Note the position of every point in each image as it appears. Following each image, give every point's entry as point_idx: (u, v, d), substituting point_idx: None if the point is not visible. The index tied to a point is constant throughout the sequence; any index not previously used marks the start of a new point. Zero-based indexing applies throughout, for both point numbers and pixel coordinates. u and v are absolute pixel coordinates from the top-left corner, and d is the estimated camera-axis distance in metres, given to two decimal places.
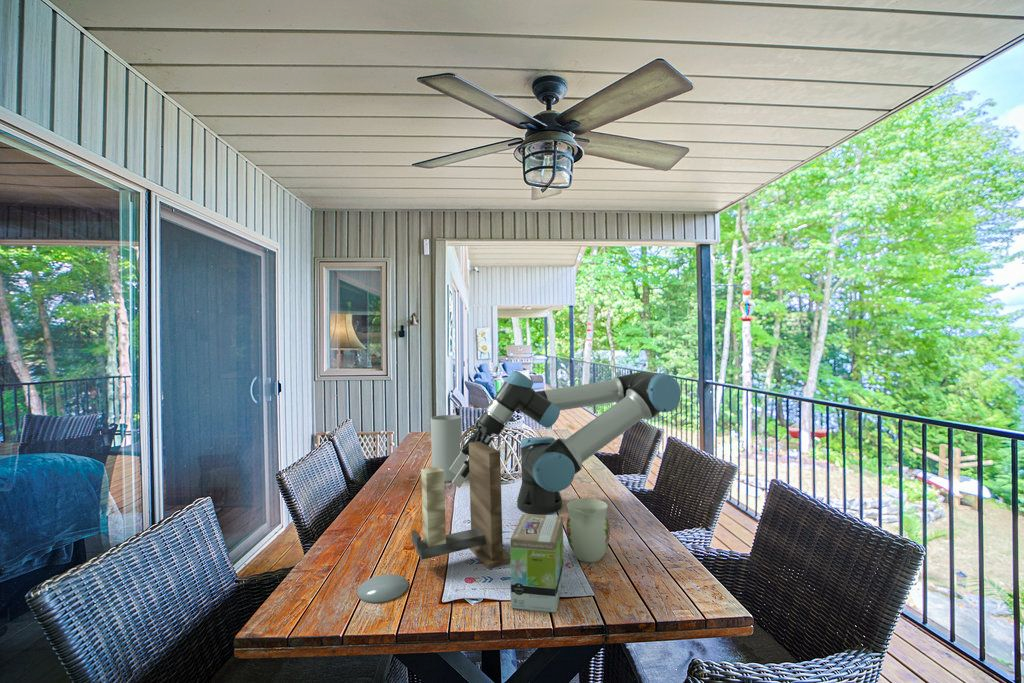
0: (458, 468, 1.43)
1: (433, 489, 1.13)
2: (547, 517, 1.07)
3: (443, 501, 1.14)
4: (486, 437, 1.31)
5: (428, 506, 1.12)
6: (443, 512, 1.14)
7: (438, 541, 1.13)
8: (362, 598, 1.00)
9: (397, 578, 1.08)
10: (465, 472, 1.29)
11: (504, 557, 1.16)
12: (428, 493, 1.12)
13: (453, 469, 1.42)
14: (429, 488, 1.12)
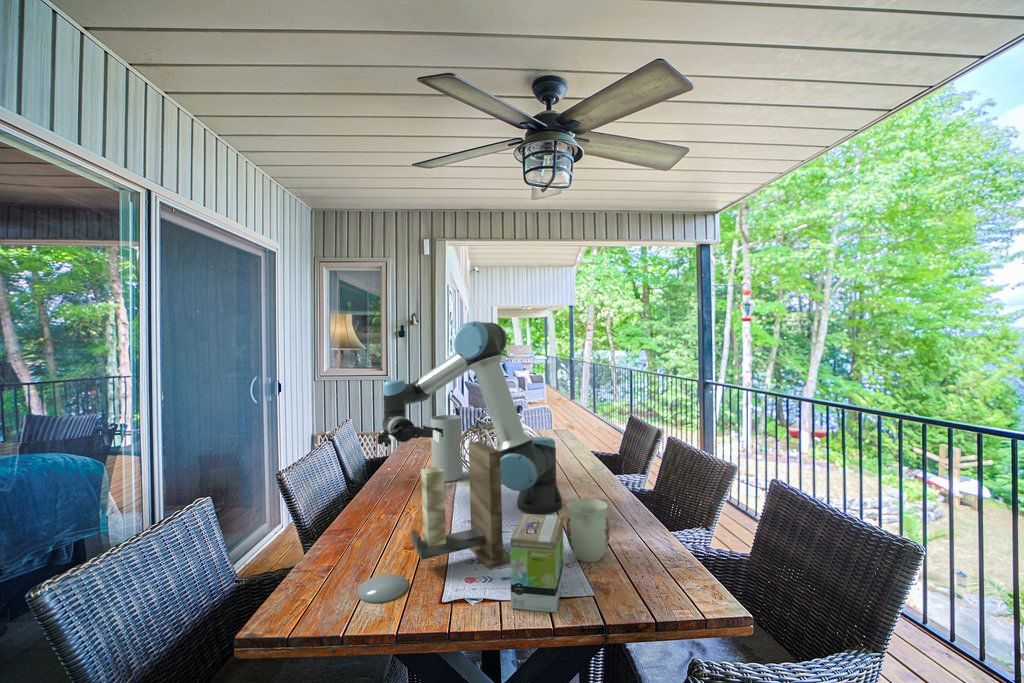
0: (437, 434, 1.40)
1: (433, 489, 1.13)
2: (547, 517, 1.07)
3: (443, 501, 1.14)
4: None
5: (428, 506, 1.12)
6: (443, 512, 1.14)
7: (438, 541, 1.13)
8: (362, 598, 1.00)
9: (397, 578, 1.08)
10: (386, 441, 1.36)
11: (504, 557, 1.16)
12: (428, 493, 1.12)
13: (438, 438, 1.39)
14: (429, 488, 1.12)
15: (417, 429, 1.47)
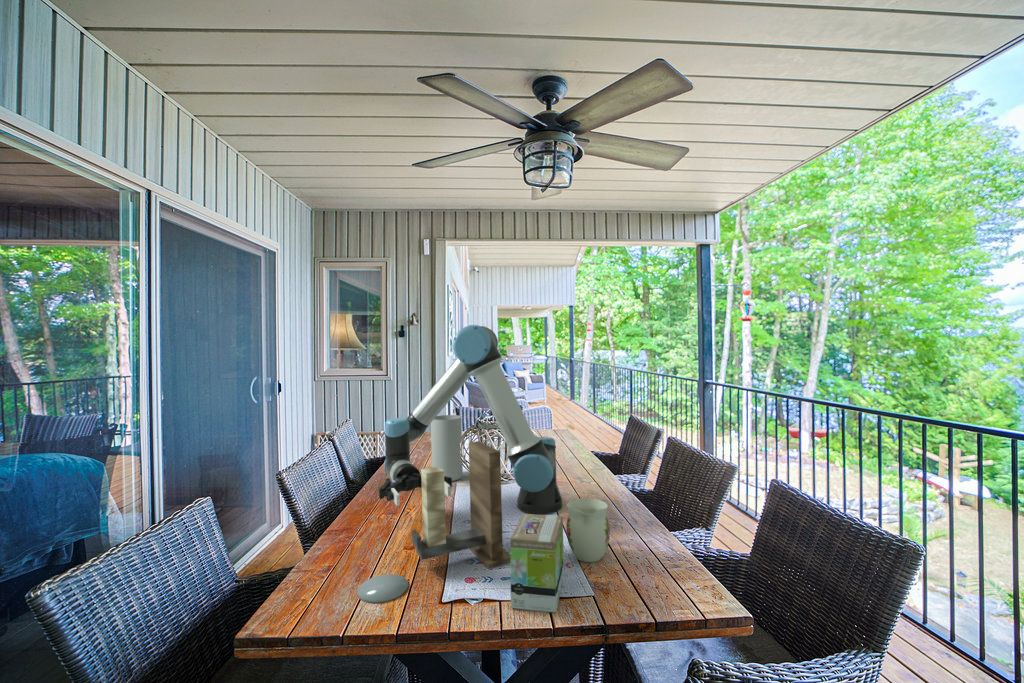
0: (445, 486, 1.25)
1: (433, 489, 1.13)
2: (547, 517, 1.07)
3: (443, 501, 1.14)
4: None
5: (428, 506, 1.12)
6: (443, 512, 1.14)
7: (438, 541, 1.13)
8: (362, 598, 1.00)
9: (397, 578, 1.08)
10: (388, 496, 1.21)
11: (504, 557, 1.16)
12: (428, 493, 1.12)
13: (447, 491, 1.24)
14: (429, 488, 1.12)
15: None
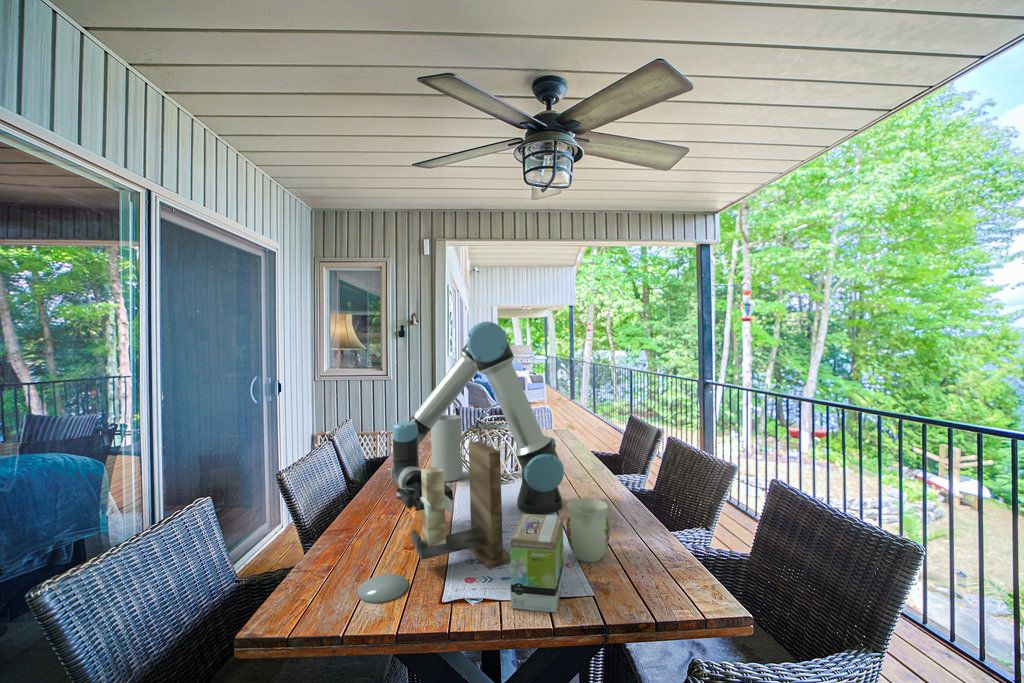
0: (446, 501, 1.13)
1: (433, 489, 1.13)
2: (547, 517, 1.07)
3: (443, 501, 1.14)
4: (397, 496, 1.22)
5: None
6: (443, 512, 1.14)
7: (438, 541, 1.13)
8: (362, 598, 1.00)
9: (397, 578, 1.08)
10: (417, 506, 1.13)
11: (504, 557, 1.16)
12: (428, 493, 1.12)
13: (447, 507, 1.12)
14: (429, 488, 1.12)
15: None
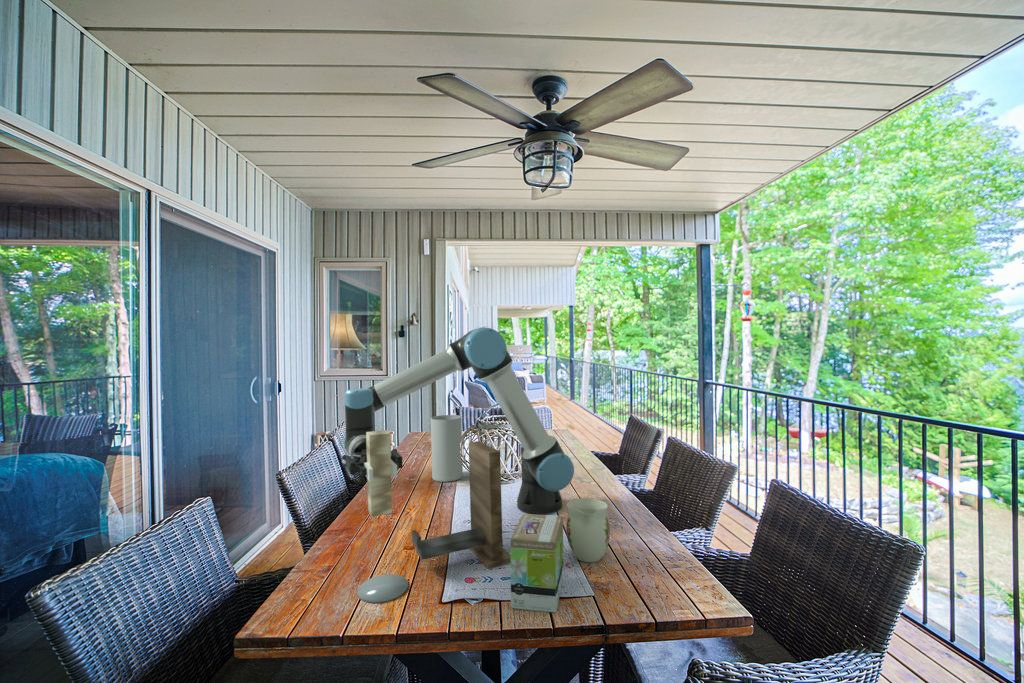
0: (391, 466, 1.03)
1: (377, 452, 1.03)
2: (547, 517, 1.07)
3: (389, 466, 1.04)
4: (342, 463, 1.11)
5: None
6: (389, 479, 1.04)
7: (383, 510, 1.03)
8: (362, 598, 1.00)
9: (397, 578, 1.08)
10: (360, 471, 1.02)
11: (504, 557, 1.16)
12: (371, 457, 1.02)
13: (393, 472, 1.02)
14: (372, 451, 1.02)
15: None
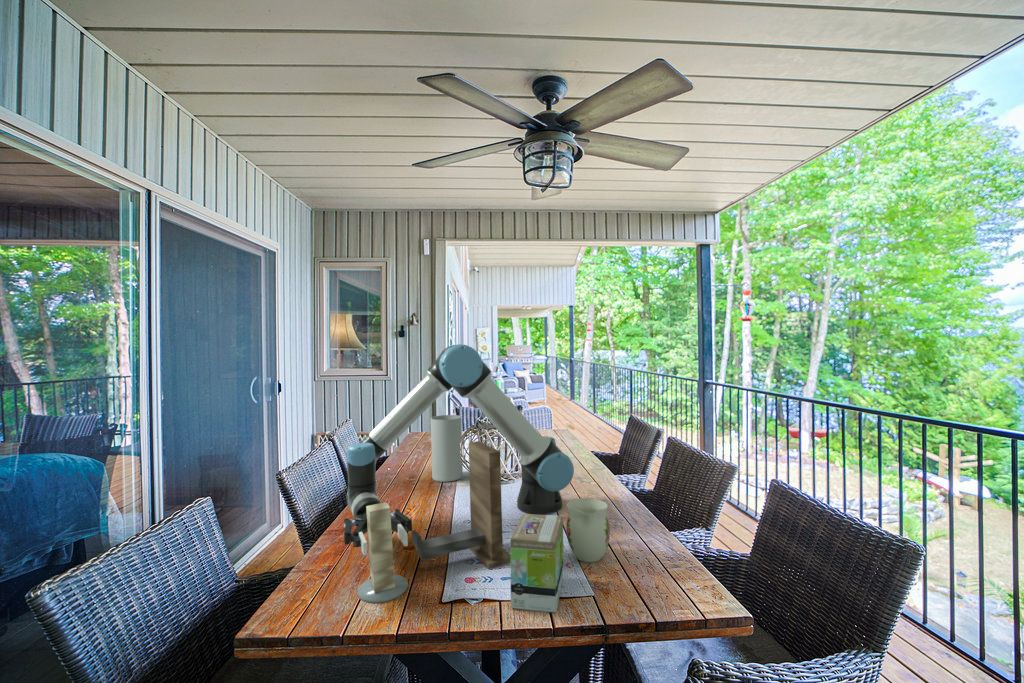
0: (402, 533, 1.04)
1: (378, 528, 1.03)
2: (547, 517, 1.07)
3: (390, 541, 1.04)
4: (344, 527, 1.12)
5: (373, 548, 1.02)
6: (391, 553, 1.04)
7: (386, 585, 1.03)
8: (362, 598, 1.00)
9: (397, 578, 1.08)
10: (354, 542, 1.02)
11: (504, 557, 1.16)
12: (372, 533, 1.02)
13: (403, 540, 1.03)
14: (373, 527, 1.02)
15: None
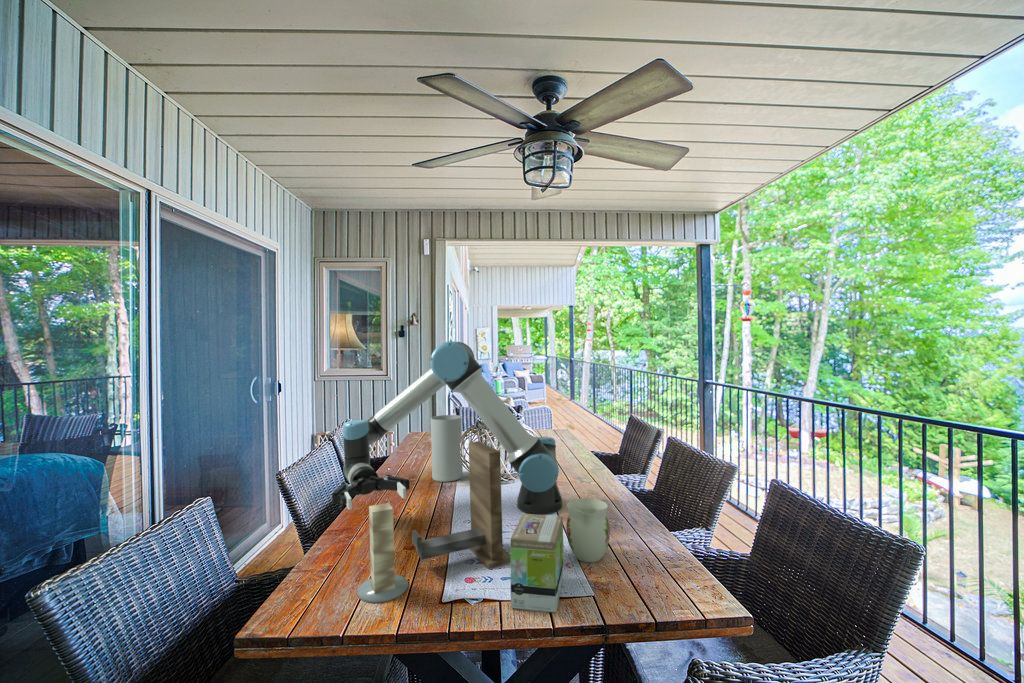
0: (401, 489, 1.22)
1: (380, 529, 1.03)
2: (547, 517, 1.07)
3: (392, 542, 1.04)
4: None
5: (375, 548, 1.02)
6: (392, 554, 1.04)
7: (386, 586, 1.03)
8: (362, 598, 1.00)
9: (397, 578, 1.08)
10: (341, 500, 1.17)
11: (504, 557, 1.16)
12: (375, 534, 1.02)
13: (402, 494, 1.21)
14: (375, 528, 1.02)
15: (380, 481, 1.29)
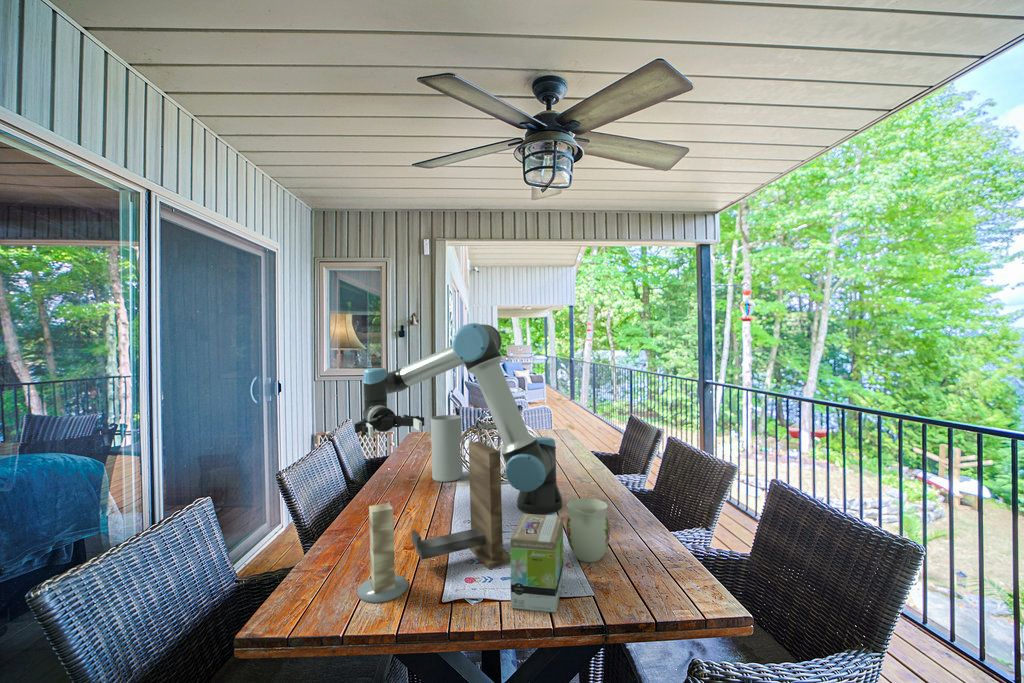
0: (417, 422, 1.33)
1: (380, 529, 1.03)
2: (547, 517, 1.07)
3: (392, 542, 1.04)
4: None
5: (375, 548, 1.02)
6: (392, 554, 1.04)
7: (386, 586, 1.03)
8: (362, 598, 1.00)
9: (397, 578, 1.08)
10: (363, 429, 1.29)
11: (504, 557, 1.16)
12: (375, 534, 1.02)
13: (418, 426, 1.32)
14: (375, 528, 1.02)
15: (397, 418, 1.41)
